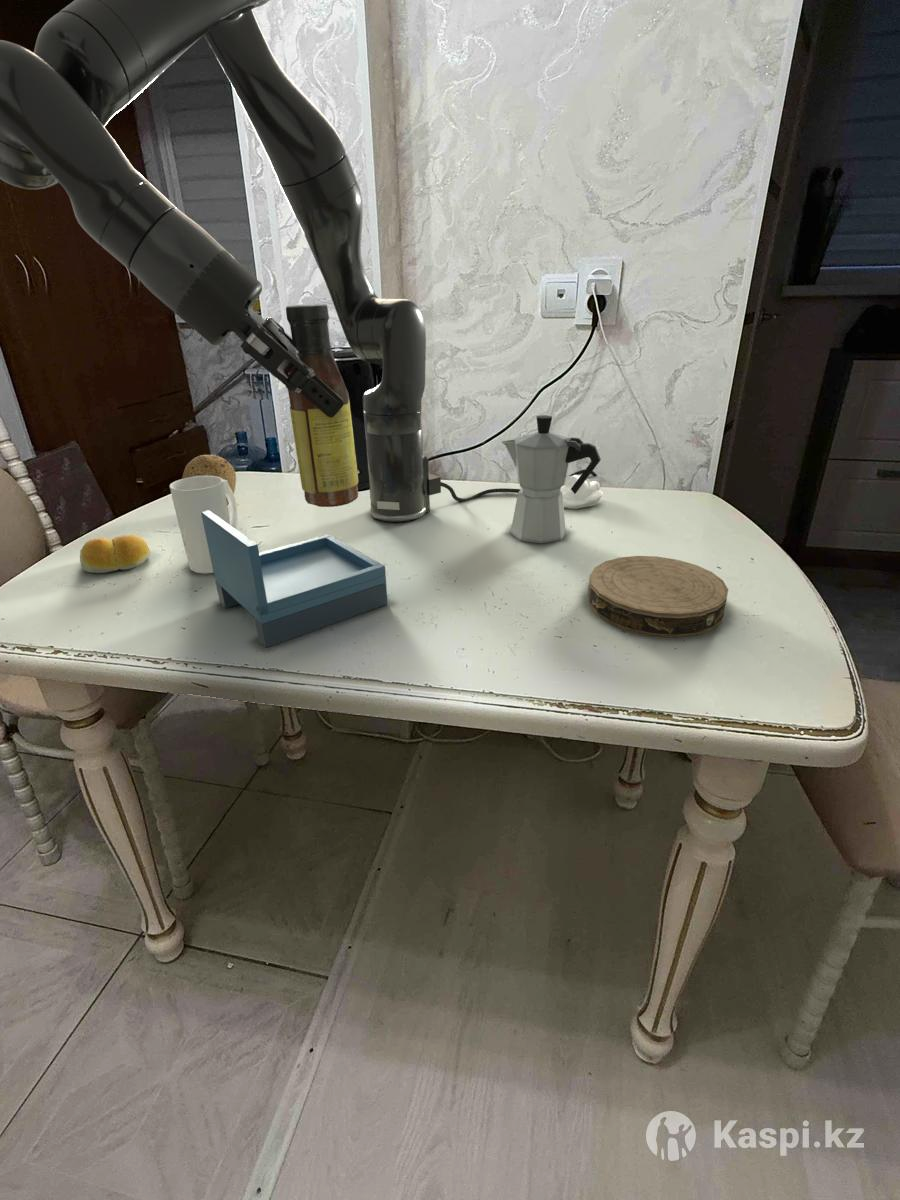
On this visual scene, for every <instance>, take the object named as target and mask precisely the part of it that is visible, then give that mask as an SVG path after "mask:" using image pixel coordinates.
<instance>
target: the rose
mask: <svg viewBox="0 0 900 1200" xmlns="http://www.w3.org/2000/svg"><path fill="white" fill-rule="evenodd" d="M581 475H582V474H579V475H573V476H568V475H567V476H568V477H566V478H565V483H564V485H563V486H562V487H561V489H560V491H561V492H562V496H563V507H564V509H565V508H566V509H572V510H573V509H574V510H576V509H582V508H587V507H588V508H589V507H594V506H597V504H598V503H599V502H600V500H601V499H602V497H603V491H602V490H601V485H600V482H598V481H596V480H592V481H590V480H589V477H588V478H587V479H586V480H585V482H584V483H583V484H582V486H581V487H580V488H579V490H578V491H577V492H576V494H574V492H573V491H572V490H571V488H572V487H573V485H574V484H575V483H576V481H577V480H578V479H579V477H580V476H581Z"/></svg>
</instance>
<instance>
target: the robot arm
mask: <svg viewBox="0 0 900 1200" xmlns="http://www.w3.org/2000/svg"><path fill="white" fill-rule="evenodd" d="M269 2H271V0H73V1H72V2H70V3H68V5H66V6H65V7H63V8H62V9H61V10H59V11H58V12H57V13H56V14H54V15H53V16H52V17H50V18H49V19H48V20H47V21H46V22H45V24H43V26H42V27H41V29H39V30H40V31H39V32H38V34H37V38H36V41H35V45H34V50H33V51H31V50H30V49H28V48H26V47H24V46H22V45H21V44H17V43H15V42H11V41H8V40H3V39H0V180H1V181H3V182H5V183H6V184H9V185H10V186H13V187H16V188H20V189H23V190H30V191H31V190H34V191H35V190H36V191H37V190H44V189H49V188H51V187H54V186H56V185H57V184H60V186H61V187H62V188H63V189H64V191H65V192H66V193H67V195H68V197H69V200H70V203H71V206H72V211H73V213H74V217H75V219H76V221H77V223H78V225H80V227H81V228H82V229H83V231H84V232H85V233H87V235H89V237H90V238H92V240H94V241H95V242H96V243H97V245H99V246H101V247H102V248H103V250H105V251H106V252H108V253H109V254H110V256H112V257H113V258H115V260H117V262H119V263H120V264H122V266H124V267H125V268H126V269H127V270H129V271H130V272H131V274H132V275H134V276H135V277H136V278H137V279H138V281H140V282H141V284H143V286H144V287H145V288H146V289H147V290H148V291H149V292H150V293H151V294H153V296H154V297H156V299H158V300H159V301H160V302H162V303H163V304H164V305H165V306H166V307H167V308H168V309H169V310H171V311H172V312H173V313H174V314H175V315H176V316H178V317H179V318H180V319H181V320H182V321H184V322H185V323H186V324H187V325H189V327H191V328H192V329H193V330H195V331H196V332H197V333H198V334H199V335H200V336H201V337H202V338H204V340H206V341H207V342H208V343H209V344H211V345H212V346H220V345H221V344H222V343H223V342H224V341H225V340H226V338H228V336H229V335H230V334H231V333H234V335H236V336H237V338H239V339H240V340H241V341H242V343H241V344H240V348H241V349H242V351H243V352H244V353H245V354H246V355H248V356H249V358H251V359H252V360H254V361H255V362H257V363H258V364H259V365H260V366H262V367H263V368H264V369H265V370H266V371H267V372H268V373H269V374H270V375H272V377H274V378H276V379H277V380H278V381H279V382H281V384H283V385H284V386H285V388H286V389H287V391H288V390H291V391H293V392H294V391H295V392H298V393H299V394H300V393H301V392H302V394H303V395H304V396H305V397H306V398H307V399H308V400H310V401H311V402H312V403H313V404H314V405H315V406H316V407H318V408H319V409H320V410H321V411H322V412H323V413H324V414H325V415H327V416H328V417H334V416H335V415H336V414H337V412H338V411H339V410H340V409H341V408H342V407H343V404H344V403H343V399H342V398H341V397H340V396H338V395H337V394H336V393H335V392H334V391H333V390H332V389H331V388H330V387H329V386H327V385H326V384H325V383H324V382H323V381H322V380H321V379H320V378H319V377H318V376H315V375H316V374H315V373H314V370H313V369H312V368H311V367H310V368H309V367H308V366H307V365H306V364H305V363H304V362H303V361H302V359H301V358H302V353H301V352H300V351H299V350H298V349H297V348H296V347H295V346H294V345H293V342H292V335H289V334H288V333H287V332H286V331H285V329H284V327H283V326H282V325H281V324H280V323H279V322H278V321H277V320H276V319H275V318H274V317H272V316H269V317H266V318H265V319H264V318H263V317H262V316H261V315H260V314H258V313H257V312H256V311H255V310H254V308H253V305H254V304H255V302H256V301H257V300H258V298H259V297H260V295H261V293H262V292H263V285H262V282H260V280H258V278H257V277H255V276H254V275H253V274H252V273H251V272H250V271H249V270H248V269H247V268H246V267H245V266H243V264H241V262H239V261H238V260H237V259H236V258H235V257H234V256H233V255H232V254H231V253H229V251H227V249H225V247H223V246H222V245H221V244H220V243H219V242H218V241H217V240H216V239H215V238H214V237H213V236H211V234H209V233H208V232H207V231H206V230H205V229H204V228H203V227H202V226H201V225H200V224H198V223H197V222H196V221H194V220H193V219H192V218H190V217H189V216H188V215H186V214H185V213H184V212H182V211H181V210H180V209H179V208H177V207H176V205H175V204H174V203H172V202H171V201H170V200H169V199H168V198H167V197H166V196H165V195H164V194H163V193H162V192H161V191H160V190H159V189H157V188H156V187H155V186H154V184H152V183H151V182H150V181H149V180H148V179H147V178H146V177H144V176H143V174H141V173H140V172H139V171H138V170H137V169H136V168H135V167H134V166H133V165H132V163H131V162H130V160H129V159H128V158H127V156H126V155H125V153H124V152H123V151H122V149H121V148H120V146H119V145H118V143H117V141H116V140H115V139H114V138H113V137H112V135H111V134H110V132H109V131H108V130H107V128H106V126H107V124H108V123H109V122H110V120H111V119H112V118H113V117H114V116H115V115H116V114H118V113H119V112H120V111H122V110H123V109H125V108H126V107H127V105H129V104H130V103H131V102H132V101H133V100H135V99H136V98H137V97H138V96H139V95H140V94H141V93H143V92H144V90H145V89H147V88H148V87H149V86H150V85H151V84H152V83H153V82H155V80H156V79H158V77H160V76H161V75H162V74H163V73H164V72H165V71H166V70H167V69H168V68H169V67H170V66H171V65H173V63H175V62H176V61H177V59H179V58H180V57H181V56H182V55H183V54H184V53H185V52H186V51H187V50H189V48H191V47H192V46H193V45H195V43H197V42H198V41H199V40H200V39H201V38H202V37H204V39H205V40H206V42H207V44H208V46H209V47H210V49H211V51H212V53H213V54H214V56H215V58H216V60H217V61H218V63H219V65H220V67H221V68H222V70H223V72H224V74H225V76H226V78H227V79H228V81H229V83H230V84H231V87H232V88H233V91H234V92H235V94H236V96H237V98H238V100H239V102H240V104H241V106H242V108H243V110H244V113H245V114H246V116H247V118H248V121H249V122H250V124H251V126H252V128H253V130H254V132H255V134H256V136H257V138H258V140H259V142H260V144H261V146H262V149H263V150H264V152H265V154H266V157H267V159H268V161H269V163H270V165H271V168H272V171H273V173H274V174H275V177H276V179H277V182H278V184H279V186H280V189H281V191H282V193H283V194H284V195H283V196H285V199H286V201H287V203H288V205H289V208H290V210H291V212H292V213H293V216H294V217H295V219H296V221H297V223H298V225H299V227H300V229H301V231H302V233H303V235H304V238H305V240H306V242H307V244H308V247H309V249H310V251H311V253H312V256H313V258H314V260H315V262H316V265H317V267H318V269H319V271H320V274H321V275H322V277H323V280H324V283H325V285H326V288H327V290H328V293H329V296H330V298H331V301H332V303H333V307H334V310H335V312H336V315H337V317H338V321H339V322H340V326H341V328H342V331H343V335H344V337H345V339H346V341H347V343H348V345H349V347H350V349H351V351H352V352H353V354H354V355H355V356H356V357H357V358H358V359H360V360H361V361H363V362H364V363H368V364H373V365H374V364H375V365H382V374H381V376H382V377H381V381H380V383H379V384H377V385H376V386H375V387H371V388H369V389H367V390H365V392H364V393H363V395H362V408H363V409H362V410H363V421H364V433H365V445H366V460H367V473H368V486H369V499H370V516H371V517H372V518H374V519H376V520H379V521H383V522H389V523H390V522H392V523H398V522H408V521H413V520H416V519H420V518H422V517H423V516H425V514H426V513H428V512H431V498H430V497H431V496H433V495H437V494H441V493H442V488H445V489H447V490H448V491H449V493H450V495H451V496H452V499H453V500H455V501H456V502H459V503H464V502H468V501H471V500H474V499H477V498H480V497H482V496H485V495H488V494H493V493H514V494H515V493H517V494H518V492H519V491H520V489H521V488H507V487H506V488H505V487H503V488H499V487H497V488H489V489H485V490H483V491H480V492H478V493H476V494H475V495H472V496H470V497H467V498H466V497H465V498H463V497H459V496H457V494H456V492H455V490H454V489H453V487H452V486H450V485H449V484H447V483H446V482H442V481H441V479H442V478H441V476H438V475H435V474H433V473H430V468H429V467H430V465H429V463H430V462H429V457H428V456H427V455H425V454H424V440H423V439H424V438H423V437H424V436H423V414H422V409H423V408H422V406H423V404H422V402H423V396H424V393H425V389H426V366H427V365H426V361H427V358H426V357H427V334H426V333H427V331H426V325H425V319H424V316H423V313H422V311H421V309H420V308H419V306H418V305H417V304H416V303H415V302H414V301H412V300H410V299H406V298H395V297H394V298H389V297H388V298H383V297H382V298H381V297H378V296H377V294H376V292H375V290H374V288H373V287H372V285H371V282H370V279H369V277H368V275H367V272H366V269H365V266H364V262H363V257H362V234H363V215H364V214H363V213H364V212H363V211H364V205H363V197H362V192H361V188H360V184H359V182H358V179H357V176H356V174H355V171H354V169H353V167H352V163H351V161H350V159H349V157H348V156H349V155H348V154H347V151H346V148H345V146H344V144H343V141H342V139H341V137H340V135H339V134H338V132H337V130H336V129H335V127H334V126H333V124H332V123H331V122H330V121H329V120H328V119H327V117H326V116H325V115H324V114H323V113H322V112H321V110H320V109H319V108H318V107H317V106H316V105H315V104H314V103H313V101H311V100H310V98H308V96H307V95H306V94H305V93H304V91H302V90H301V89H300V88H299V87H298V86H297V85H296V83H295V82H294V81H293V80H292V79H291V78H290V77H289V76H288V75H287V73H286V72H285V71H284V69H283V68H282V67H281V65H280V63H279V62H278V60H277V59H276V58H275V55H274V54H273V52H272V50H271V48H270V46H269V44H268V42H267V40H266V37H265V36H264V33H263V31H262V29H261V26H260V25H259V22H258V20H257V18H256V16H255V15H256V14H254V13H255V12H254V11H253V10H256V9H258V8H260V7H263V6H265V5H266V4H268V3H269ZM294 366H296V368H295V370H294V371H293V372H292V373H291V374H290V376H289V372H290V370H291V369H292V368H293V367H294ZM314 376H315V377H314ZM584 471H585V469H581V470H578V471H575V472H572V473H571V474H569V475H566V477H568V476H573V475H582V473H583V472H584ZM590 475H591V476H593V477H598V474H597V473H596V472H595V471H594V470H593V471H592V472H591V474H590Z"/></svg>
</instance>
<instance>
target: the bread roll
mask: <svg viewBox="0 0 900 1200" xmlns="http://www.w3.org/2000/svg"><path fill="white" fill-rule="evenodd" d="M150 557H151V548H150V546H149V544H148V542H147V541H146V540H145V539H144V538H142V537H140V536H138V535H135V534H129V535H119V536H116V537H114V538H112V539H109V538H104V537H98V538H97V537H96V538H92V539H88V541H86V542H85V543H84V544H83V546H82V547H81V549H80V551H79V563H80V566H81V570H83V571H85V572H87V573H90V574H91V573H92V574H105V573H111V572H116V571H118V570H123V571H124V570H131V569H134V568H138V567H139V566H141V565H142V564H143V563H145V562H146V561H147V560H148V559H149V558H150Z"/></svg>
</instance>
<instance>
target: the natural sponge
mask: <svg viewBox="0 0 900 1200" xmlns="http://www.w3.org/2000/svg"><path fill="white" fill-rule="evenodd" d="M195 476H216V477H220V478H222V479H223V480H227V481H228V485H229V487H230V488H231V490H232V492H233V494H234V495H235V491H236V484H237V474H236V469H235V468H234V467H233V465H232V464H231V463H230V462H229V461H228V460H226V459H225V458H223V457H221V456H218V455H215V454H201V455H198V456H196V457H194V458H193V459H191V460H190V461H189V462H188V463H187V464H186V465H185V468H184V470H183V473H182V477H181V479H184V478H189V477H195ZM226 501H227V507H229V503H228V499H227V497H226Z"/></svg>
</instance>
